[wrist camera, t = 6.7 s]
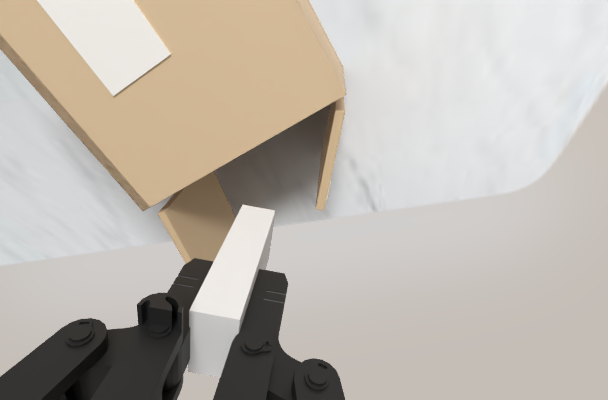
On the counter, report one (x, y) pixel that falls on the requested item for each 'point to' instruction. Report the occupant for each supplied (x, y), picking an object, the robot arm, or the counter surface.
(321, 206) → the flap near
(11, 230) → the counter surface
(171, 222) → the flap far
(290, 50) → the carton
